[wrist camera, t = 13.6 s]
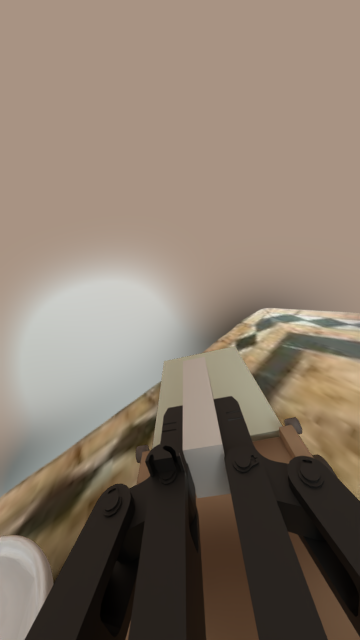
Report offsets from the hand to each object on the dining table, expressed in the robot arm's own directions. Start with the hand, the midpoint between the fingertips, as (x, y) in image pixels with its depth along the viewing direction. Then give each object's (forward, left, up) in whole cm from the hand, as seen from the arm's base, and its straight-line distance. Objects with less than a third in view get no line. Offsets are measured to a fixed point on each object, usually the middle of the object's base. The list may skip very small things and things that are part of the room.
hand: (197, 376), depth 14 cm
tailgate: (-1, -1, -8) cm, 8 cm away
